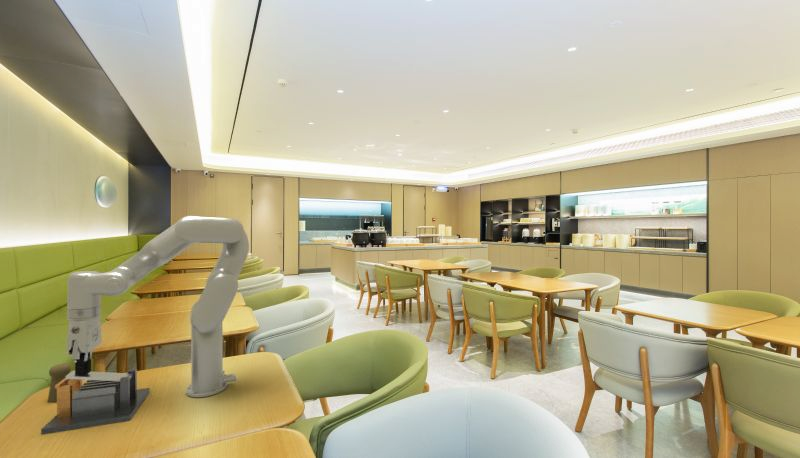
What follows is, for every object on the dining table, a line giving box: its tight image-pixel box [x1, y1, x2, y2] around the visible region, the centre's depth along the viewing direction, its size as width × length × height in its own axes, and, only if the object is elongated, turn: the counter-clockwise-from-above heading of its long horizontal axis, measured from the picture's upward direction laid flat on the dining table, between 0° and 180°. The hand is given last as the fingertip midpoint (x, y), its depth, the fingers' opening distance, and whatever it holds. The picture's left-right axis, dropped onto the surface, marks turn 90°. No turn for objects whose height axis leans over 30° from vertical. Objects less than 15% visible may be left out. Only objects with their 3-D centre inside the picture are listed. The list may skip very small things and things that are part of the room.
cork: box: [47, 362, 72, 404], centre depth 115 cm, size 6×6×11 cm
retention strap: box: [65, 370, 133, 381], centre depth 107 cm, size 16×4×1 cm, turn 110°
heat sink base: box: [40, 368, 151, 436], centre depth 107 cm, size 20×18×11 cm
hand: (83, 373), depth 106 cm, fingers closed
